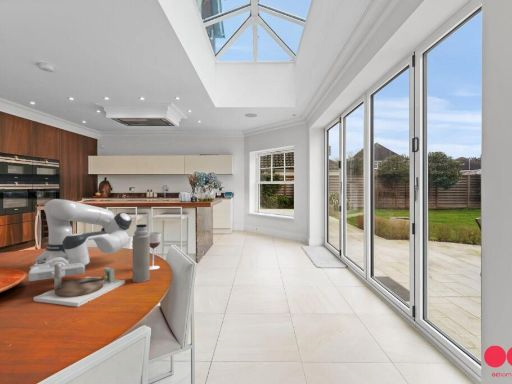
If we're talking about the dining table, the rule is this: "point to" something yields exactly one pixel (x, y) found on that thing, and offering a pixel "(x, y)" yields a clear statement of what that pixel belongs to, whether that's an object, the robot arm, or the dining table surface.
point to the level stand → (82, 299)
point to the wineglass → (154, 245)
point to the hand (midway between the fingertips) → (58, 276)
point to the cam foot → (75, 284)
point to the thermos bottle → (141, 254)
